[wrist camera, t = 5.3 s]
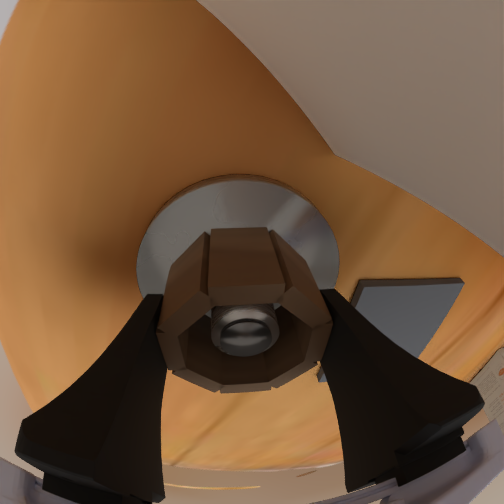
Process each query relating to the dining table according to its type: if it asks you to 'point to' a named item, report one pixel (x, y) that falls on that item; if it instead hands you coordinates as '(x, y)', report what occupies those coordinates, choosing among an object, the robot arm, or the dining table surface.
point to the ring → (241, 293)
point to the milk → (396, 90)
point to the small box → (492, 387)
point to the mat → (405, 309)
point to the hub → (237, 216)
